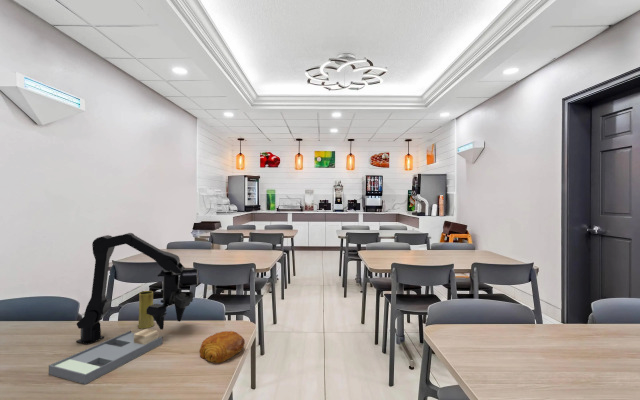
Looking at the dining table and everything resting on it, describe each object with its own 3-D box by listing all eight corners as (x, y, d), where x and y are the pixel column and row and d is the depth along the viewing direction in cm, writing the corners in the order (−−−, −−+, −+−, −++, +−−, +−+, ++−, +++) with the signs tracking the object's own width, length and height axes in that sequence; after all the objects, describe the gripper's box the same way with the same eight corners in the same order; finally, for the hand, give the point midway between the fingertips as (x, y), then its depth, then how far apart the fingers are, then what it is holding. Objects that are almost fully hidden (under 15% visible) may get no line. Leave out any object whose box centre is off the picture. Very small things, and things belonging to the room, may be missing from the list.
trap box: (48, 374, 100) (48, 365, 100) (130, 337, 127) (130, 330, 127) (85, 384, 95) (85, 375, 95) (162, 343, 121) (162, 336, 121)
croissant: (250, 354, 118) (253, 331, 119) (221, 368, 104) (224, 342, 105) (220, 345, 124) (222, 323, 125) (188, 357, 110) (191, 333, 111)
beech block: (133, 342, 118) (133, 334, 118) (146, 336, 123) (146, 328, 123) (145, 344, 116) (145, 336, 116) (157, 338, 121) (157, 330, 121)
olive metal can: (147, 329, 135) (147, 295, 135) (134, 328, 136) (134, 294, 136) (157, 323, 141) (157, 290, 141) (144, 322, 142) (145, 290, 142)
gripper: (168, 294, 119) (168, 337, 119) (203, 282, 137) (202, 319, 137) (145, 291, 123) (145, 333, 123) (181, 280, 140) (181, 316, 140)
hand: (170, 325), depth 131 cm, fingers open, 9 cm apart
